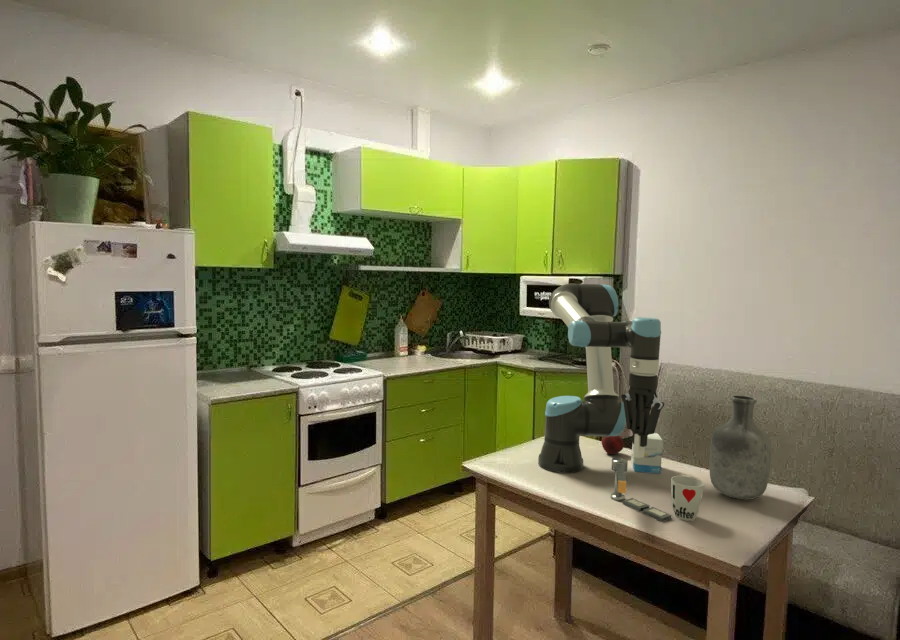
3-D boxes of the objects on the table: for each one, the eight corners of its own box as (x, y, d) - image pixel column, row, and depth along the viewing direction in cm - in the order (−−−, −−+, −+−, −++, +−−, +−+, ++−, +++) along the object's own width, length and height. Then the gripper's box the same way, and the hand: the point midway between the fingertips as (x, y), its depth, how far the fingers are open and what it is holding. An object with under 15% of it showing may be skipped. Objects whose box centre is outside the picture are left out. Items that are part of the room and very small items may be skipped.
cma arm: (611, 466, 162) (611, 457, 162) (626, 468, 161) (627, 458, 161) (613, 491, 142) (613, 481, 142) (630, 494, 141) (631, 483, 141)
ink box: (661, 474, 182) (663, 439, 181) (634, 471, 183) (636, 437, 182) (656, 465, 190) (658, 432, 189) (630, 463, 192) (632, 430, 191)
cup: (663, 516, 149) (666, 480, 148) (676, 507, 155) (678, 473, 154) (694, 526, 143) (696, 489, 142) (706, 517, 149) (708, 481, 148)
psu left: (622, 503, 156) (622, 500, 156) (632, 501, 158) (632, 497, 158) (640, 511, 151) (640, 508, 151) (649, 509, 153) (649, 505, 153)
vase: (769, 494, 167) (777, 397, 165) (764, 511, 154) (773, 406, 151) (712, 481, 176) (718, 389, 174) (703, 497, 163) (709, 397, 160)
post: (607, 497, 161) (609, 469, 160) (616, 494, 163) (618, 467, 162) (618, 502, 157) (620, 473, 157) (627, 499, 160) (629, 471, 159)
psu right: (643, 513, 150) (643, 509, 150) (652, 510, 152) (652, 506, 152) (661, 521, 145) (662, 517, 145) (671, 518, 147) (671, 514, 147)
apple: (609, 449, 206) (610, 428, 206) (627, 455, 200) (628, 433, 200) (597, 453, 202) (598, 431, 201) (616, 459, 196) (617, 437, 195)
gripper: (615, 370, 155) (611, 452, 157) (654, 378, 144) (649, 466, 146) (633, 368, 159) (628, 448, 161) (672, 376, 148) (667, 461, 150)
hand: (638, 456), depth 154 cm, fingers closed
